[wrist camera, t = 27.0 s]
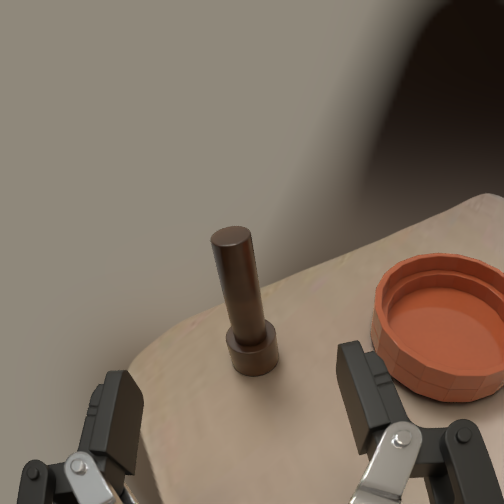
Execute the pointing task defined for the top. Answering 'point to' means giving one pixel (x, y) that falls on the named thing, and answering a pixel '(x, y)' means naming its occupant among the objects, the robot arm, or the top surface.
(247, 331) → the muddler
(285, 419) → the top surface
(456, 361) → the bowl
